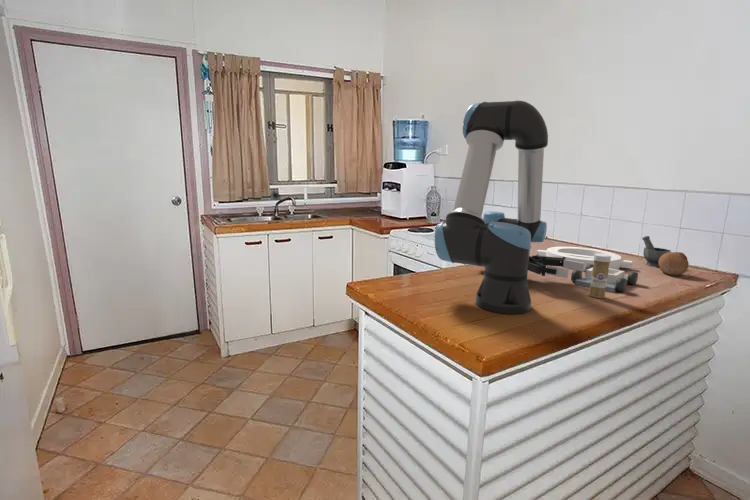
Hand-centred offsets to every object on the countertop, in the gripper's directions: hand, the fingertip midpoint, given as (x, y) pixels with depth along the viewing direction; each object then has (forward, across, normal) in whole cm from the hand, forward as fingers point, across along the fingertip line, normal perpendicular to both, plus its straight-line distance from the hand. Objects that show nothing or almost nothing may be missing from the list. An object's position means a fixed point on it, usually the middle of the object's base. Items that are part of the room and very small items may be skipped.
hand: (576, 270), depth 134 cm
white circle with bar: (-13, -44, -7) cm, 47 cm away
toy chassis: (+4, -18, -7) cm, 20 cm away
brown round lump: (+17, -53, -7) cm, 56 cm away
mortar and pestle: (+8, -66, -7) cm, 67 cm away
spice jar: (+7, +1, -7) cm, 10 cm away
